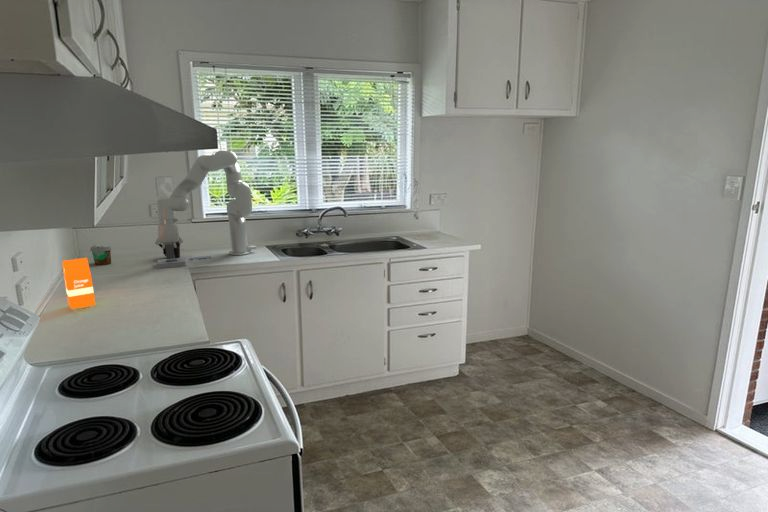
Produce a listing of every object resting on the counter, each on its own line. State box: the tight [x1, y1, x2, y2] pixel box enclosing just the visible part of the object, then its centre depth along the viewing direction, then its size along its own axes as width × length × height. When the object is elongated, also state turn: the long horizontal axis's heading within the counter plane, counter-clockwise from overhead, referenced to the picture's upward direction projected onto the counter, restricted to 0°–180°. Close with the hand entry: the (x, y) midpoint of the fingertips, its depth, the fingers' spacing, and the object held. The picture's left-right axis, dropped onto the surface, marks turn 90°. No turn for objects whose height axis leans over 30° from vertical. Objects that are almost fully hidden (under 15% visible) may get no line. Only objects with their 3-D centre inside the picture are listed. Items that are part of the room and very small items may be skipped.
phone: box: [190, 255, 212, 261], centre depth 290 cm, size 11×6×1 cm, turn 111°
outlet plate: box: [156, 257, 187, 269], centre depth 275 cm, size 14×10×2 cm
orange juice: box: [62, 257, 96, 309], centre depth 206 cm, size 8×9×20 cm
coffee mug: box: [175, 241, 181, 258], centre depth 293 cm, size 12×9×10 cm
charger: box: [165, 243, 175, 259], centre depth 273 cm, size 4×4×8 cm
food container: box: [89, 244, 112, 266], centre depth 277 cm, size 12×6×10 cm, turn 68°
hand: (170, 254), depth 274 cm, fingers closed on charger, 4 cm apart
